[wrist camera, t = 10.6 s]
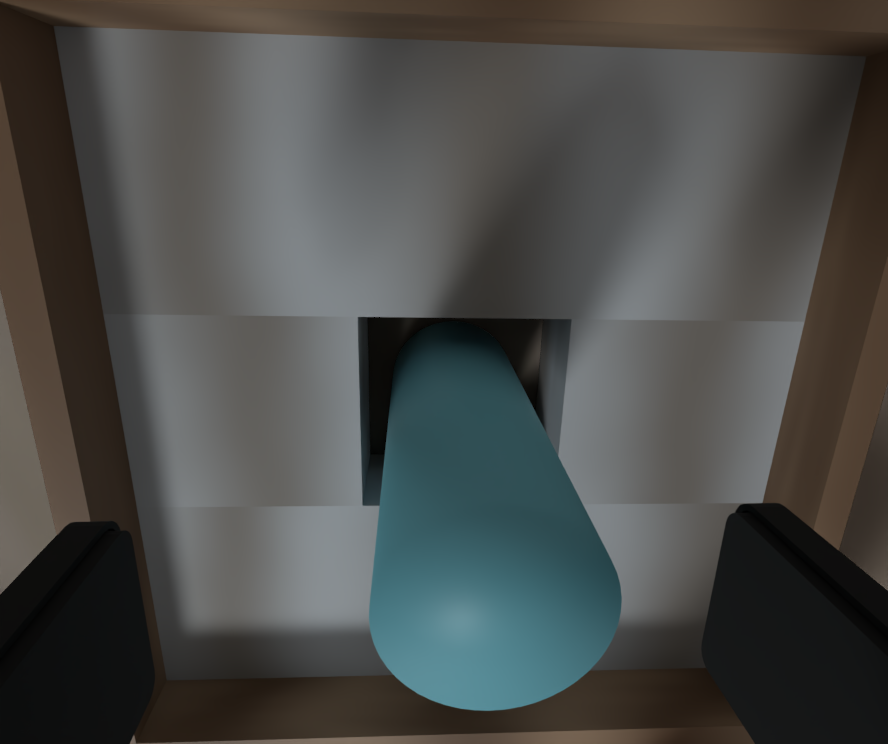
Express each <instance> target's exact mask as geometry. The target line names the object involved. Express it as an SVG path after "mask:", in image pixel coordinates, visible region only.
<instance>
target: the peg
mask: <svg viewBox="0 0 888 744" xmlns="http://www.w3.org/2000/svg"><path fill="white" fill-rule="evenodd" d="M621 603H622V596H621V586H620V582H619V578H618V574H617V571H616V569H615V567H614V565H613V562H612V560H611V558H610V556H609V554H608V552H607V550H606V548H605V546H604V544H603V542H602V541H601V539H600V537H599V535H598V533H597V531H596V529H595V527H594V525H593V523H592V521H591V519H590V517H589V515H588V513H587V511H586V509H585V507H584V505H583V504H582V502H581V500H580V498H579V496H578V494H577V492H576V490H575V488H574V486H573V484H572V482H571V480H570V478H569V476H568V474H567V472H566V470H565V468H564V466H563V465H562V463H561V461H560V459H559V457H558V455H557V453H556V451H555V449H554V447H553V445H552V443H551V441H550V439H549V437H548V435H547V433H546V431H545V429H544V428H543V426H542V424H541V422H540V420H539V418H538V416H537V414H536V412H535V410H534V408H533V406H532V404H531V402H530V400H529V398H528V396H527V394H526V392H525V390H524V389H523V387H522V385H521V383H520V381H519V379H518V377H517V375H516V373H515V371H514V369H513V367H512V365H511V363H510V361H509V359H508V357H507V355H506V353H505V351H504V350H503V348H502V347H501V345H500V344H499V342H498V341H497V340H496V339H495V338H494V337H493V336H492V335H491V334H490V333H488V332H487V331H485V330H484V329H482V328H480V327H478V326H475V325H473V324H470V323H465V322H459V321H446V322H440V323H436V324H433V325H430V326H428V327H426V328H423V329H422V330H420V331H419V332H417V333H416V334H414V335H413V336H412V337H411V338H410V339H409V340H408V341H407V342H406V343H405V345H404V346H403V347H402V349H401V350H400V352H399V354H398V356H397V359H396V362H395V365H394V370H393V379H392V389H391V399H390V408H389V418H388V428H387V438H386V448H385V457H384V467H383V477H382V487H381V496H380V506H379V516H378V526H377V536H376V545H375V555H374V565H373V575H372V585H371V594H370V604H369V624H370V632H371V636H372V639H373V643H374V645H375V647H376V650H377V652H378V654H379V656H380V658H381V659H382V661H383V662H384V664H385V665H386V667H387V668H388V669H389V670H390V671H391V672H392V674H393V675H394V676H395V677H396V678H397V679H398V680H400V681H401V682H402V683H403V684H404V685H406V686H407V687H408V688H410V689H411V690H413V691H415V692H416V693H418V694H420V695H422V696H424V697H426V698H428V699H430V700H432V701H435V702H438V703H441V704H443V705H447V706H451V707H455V708H460V709H468V710H481V711H493V710H506V709H511V708H517V707H522V706H526V705H529V704H533V703H536V702H539V701H541V700H544V699H546V698H549V697H551V696H553V695H555V694H557V693H559V692H561V691H563V690H564V689H566V688H568V687H569V686H571V685H572V684H574V683H575V682H577V681H578V680H579V679H580V678H581V677H583V676H584V675H585V674H586V673H587V672H588V671H589V670H590V669H591V668H592V667H593V666H594V665H595V664H596V663H597V662H598V661H599V659H600V658H601V657H602V655H603V654H604V653H605V651H606V650H607V648H608V646H609V644H610V643H611V641H612V639H613V637H614V634H615V632H616V629H617V627H618V623H619V619H620V614H621Z"/></svg>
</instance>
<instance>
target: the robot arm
mask: <svg viewBox="0 0 888 744" xmlns="http://www.w3.org/2000/svg"><path fill="white" fill-rule="evenodd" d="M701 651H702V657H703V661H704V664H705V667H706V668H707V670H708V672H709V674H710V675H711V677H712V678H713V680H714V681H715V683H716V684H717V686H718V687H719V689H720V691H721V692H722V694H723V695H724V697H725V698H726V700H727V701H728V703H729V704H730V706H731V708H732V709H733V711H734V712H735V714H736V715H737V717H738V718H739V720H740V721H741V723H742V725H743V726H744V728H745V729H746V731H747V732H748V734H749V735H750V737H751V738H752V740H753V742H754V743H755V744H888V591H887V590H886V589H885V588H884V587H882V586H881V585H880V584H879V583H877V582H876V581H875V580H874V579H873V578H871V577H870V576H869V575H868V574H867V573H865V572H864V571H863V570H862V569H860V568H859V567H858V566H857V565H856V564H854V563H853V562H852V561H851V560H849V559H848V558H847V557H846V556H845V555H843V554H842V553H841V552H840V551H839V550H837V549H836V548H835V547H834V546H832V545H831V544H830V543H829V542H828V541H826V540H825V539H824V538H823V537H822V536H820V535H819V534H818V533H817V532H815V531H814V530H813V529H812V528H811V527H809V526H808V525H807V524H806V523H804V522H803V521H802V520H801V519H800V518H798V517H797V516H796V515H795V514H794V513H792V512H791V511H790V510H789V509H787V508H786V507H785V506H783V505H782V504H780V503H750V504H742V505H740V506H739V507H738V508H737V509H736V511H735V513H732V514H730V515H729V516H728V518H727V521H726V524H725V529H724V534H723V539H722V544H721V549H720V554H719V559H718V564H717V569H716V574H715V579H714V584H713V589H712V594H711V599H710V604H709V609H708V614H707V619H706V624H705V629H704V634H703V639H702V645H701ZM154 683H155V669H154V663H153V658H152V652H151V646H150V640H149V634H148V628H147V622H146V616H145V610H144V605H143V599H142V593H141V587H140V581H139V575H138V569H137V563H136V557H135V551H134V546H133V540H132V536H131V534H130V533H129V532H128V531H126V530H122V531H121V530H120V527H119V526H118V524H117V523H116V522H114V521H89V522H72V523H69V524H68V525H67V526H65V527H64V528H63V529H62V530H61V531H60V533H59V534H58V535H57V536H56V537H55V538H54V539H53V540H52V541H51V542H50V543H49V544H48V545H47V546H46V547H45V548H44V549H43V550H42V551H41V552H40V554H39V555H38V556H37V557H36V558H35V559H34V560H33V561H32V562H31V563H30V564H29V565H28V566H27V567H26V568H25V569H24V570H23V571H22V572H21V574H20V575H19V576H18V577H17V578H16V579H15V580H14V581H13V582H12V583H11V584H10V585H9V586H8V587H7V588H6V589H5V590H4V591H3V592H2V593H1V595H0V744H130V742H131V740H132V738H133V736H134V734H135V732H136V729H137V727H138V725H139V723H140V721H141V719H142V717H143V714H144V712H145V710H146V708H147V706H148V704H149V702H150V699H151V696H152V693H153V689H154Z"/></svg>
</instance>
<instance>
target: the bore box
mask: <svg viewBox="0 0 888 744" xmlns="http://www.w3.org/2000/svg"><path fill="white" fill-rule="evenodd" d="M0 290H1V294H2V298H3V303H4V307H5V312H6V316H7V320H8V325H9V329H10V333H11V338H12V342H13V346H14V351H15V355H16V360H17V364H18V368H19V373H20V377H21V381H22V386H23V390H24V395H25V399H26V403H27V408H28V412H29V416H30V421H31V425H32V429H33V434H34V438H35V443H36V447H37V451H38V456H39V460H40V464H41V469H42V473H43V477H44V482H45V486H46V491H47V495H48V499H49V504H50V508H51V512H52V517H53V521H54V525H55V530H56V534H57V535H58V534H59V533H60V531H61V530H62V529H63V528H64V527H65V526H67V525H68V524H69V523H72V522H89V521H114V522H116V523H117V524H118V526H119V527H120V530H121V531H122V530H126V531H128V532H129V533H130V534H131V536H132V540H133V546H134V551H135V557H136V563H137V569H138V575H139V581H140V587H141V593H142V599H143V605H144V610H145V616H146V622H147V628H148V634H149V640H150V646H151V652H152V658H153V663H154V669H155V683H154V689H153V693H152V696H151V699H150V702H149V704H148V706H147V708H146V710H145V712H144V714H143V717H142V719H141V721H140V723H139V725H138V727H137V729H136V732H135V734H134V736H133V738H132V740H131V742H130V744H755V743H754V742H753V740H752V738H751V737H750V735H749V734H748V732H747V731H746V729H745V728H744V726H743V725H742V723H741V721H740V720H739V718H738V717H737V715H736V714H735V712H734V711H733V709H732V708H731V706H730V704H729V703H728V701H727V700H726V698H725V697H724V695H723V694H722V692H721V691H720V689H719V687H718V686H717V684H716V683H715V681H714V680H713V678H712V677H711V675H710V674H709V672H708V670H707V668H706V667H705V664H704V661H703V657H702V651H701V645H702V639H703V634H704V629H705V624H706V619H707V614H708V609H709V604H710V599H711V594H712V589H713V584H714V579H715V574H716V569H717V564H718V559H719V554H720V549H721V544H722V539H723V534H724V529H725V524H726V521H727V518H728V516H729V515H730V514H732V513H735V511H736V509H737V508H738V507H739V506H740V505H742V504H750V503H780V504H782V505H783V506H785V507H786V508H787V509H789V510H790V511H791V512H792V513H794V514H795V515H796V516H797V517H798V518H800V519H801V520H802V521H803V522H804V523H806V524H807V525H808V526H809V527H811V528H812V529H813V530H814V531H815V532H817V533H818V534H819V535H820V536H822V537H823V538H824V539H825V540H826V541H828V542H829V543H830V544H831V545H832V546H834V547H835V548H836V549H837V550H839V548H840V545H841V541H842V538H843V535H844V531H845V528H846V524H847V521H848V517H849V514H850V511H851V507H852V504H853V500H854V497H855V493H856V490H857V487H858V483H859V480H860V476H861V473H862V469H863V466H864V463H865V459H866V456H867V452H868V449H869V445H870V442H871V439H872V435H873V432H874V428H875V425H876V421H877V418H878V415H879V411H880V408H881V404H882V401H883V397H884V394H885V391H886V387H887V384H888V0H0ZM368 317H416V318H508V319H543V328H542V341H541V353H540V365H539V377H538V390H537V402H536V414H537V416H538V418H539V420H540V422H541V424H542V426H543V428H544V429H545V431H546V433H547V435H548V437H549V439H550V441H551V443H552V445H553V447H554V449H555V451H556V453H557V455H558V457H559V459H560V461H561V463H562V465H563V466H564V468H565V470H566V472H567V474H568V476H569V478H570V480H571V482H572V484H573V486H574V488H575V490H576V492H577V494H578V496H579V498H580V500H581V502H582V504H583V505H584V507H585V509H586V511H587V513H588V515H589V517H590V519H591V521H592V523H593V525H594V527H595V529H596V531H597V533H598V535H599V537H600V539H601V541H602V542H603V544H604V546H605V548H606V550H607V552H608V554H609V556H610V558H611V560H612V562H613V565H614V567H615V569H616V571H617V574H618V578H619V582H620V586H621V596H622V603H621V614H620V619H619V623H618V627H617V629H616V632H615V634H614V637H613V639H612V641H611V643H610V644H609V646H608V648H607V650H606V651H605V653H604V654H603V655H602V657H601V658H600V659H599V661H598V662H597V663H596V664H595V665H594V666H593V667H592V668H591V669H590V670H589V671H588V672H587V673H586V674H585V675H584V676H583V677H581V678H580V679H579V680H578V681H577V682H575V683H574V684H572V685H571V686H569V687H568V688H566V689H564V690H563V691H561V692H559V693H557V694H555V695H553V696H551V697H549V698H546V699H544V700H541V701H539V702H536V703H533V704H529V705H526V706H522V707H517V708H511V709H506V710H493V711H481V710H468V709H460V708H455V707H451V706H447V705H443V704H441V703H438V702H435V701H432V700H430V699H428V698H426V697H424V696H422V695H420V694H418V693H416V692H415V691H413V690H411V689H410V688H408V687H407V686H406V685H404V684H403V683H402V682H401V681H400V680H398V679H397V678H396V677H395V676H394V675H393V674H392V672H391V671H390V670H389V669H388V668H387V667H386V665H385V664H384V662H383V661H382V659H381V658H380V656H379V654H378V652H377V650H376V647H375V645H374V643H373V639H372V636H371V632H370V624H369V604H370V594H371V585H372V575H373V565H374V555H375V545H376V536H377V526H378V516H379V506H380V496H381V487H382V477H383V467H384V457H385V454H370V410H369V361H368Z"/></svg>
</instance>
